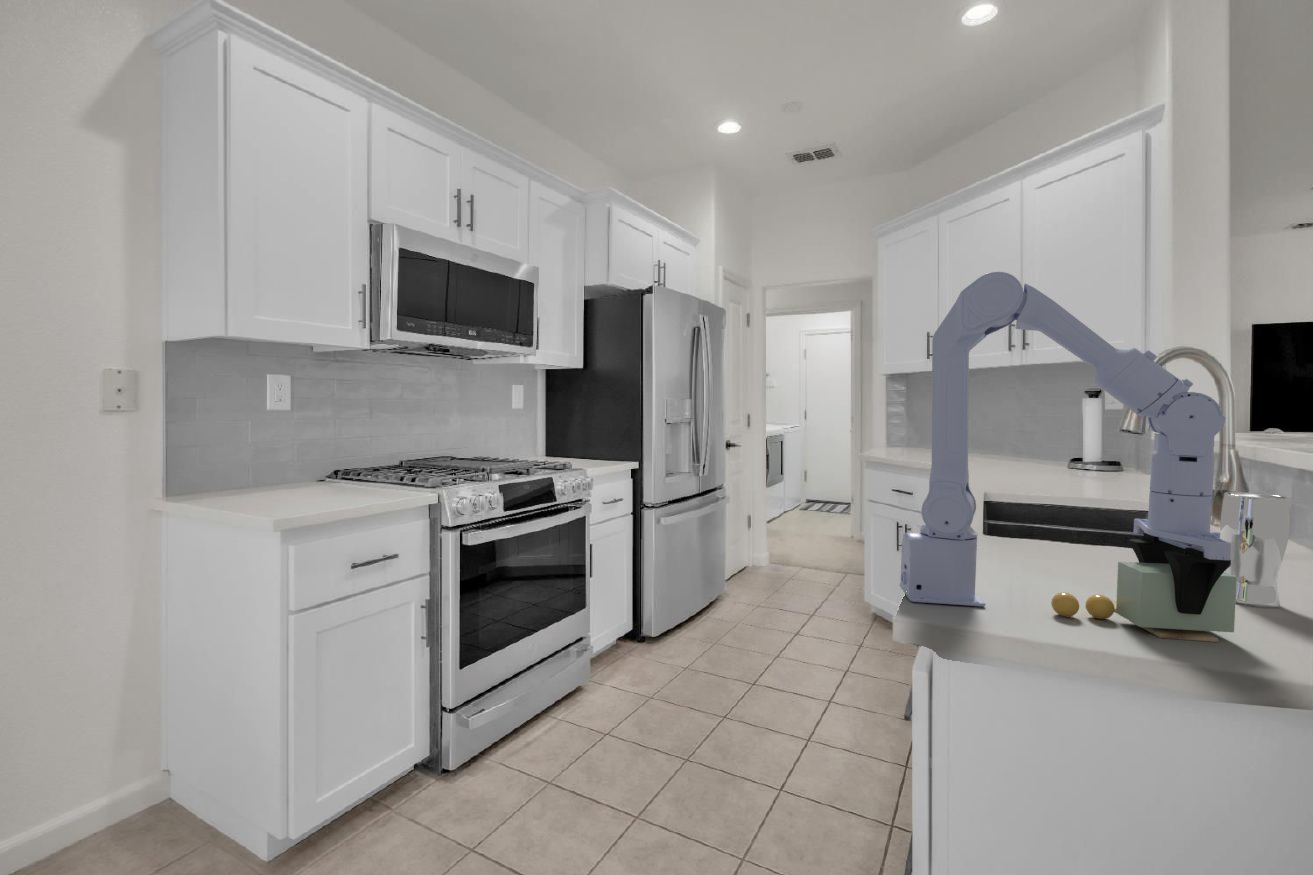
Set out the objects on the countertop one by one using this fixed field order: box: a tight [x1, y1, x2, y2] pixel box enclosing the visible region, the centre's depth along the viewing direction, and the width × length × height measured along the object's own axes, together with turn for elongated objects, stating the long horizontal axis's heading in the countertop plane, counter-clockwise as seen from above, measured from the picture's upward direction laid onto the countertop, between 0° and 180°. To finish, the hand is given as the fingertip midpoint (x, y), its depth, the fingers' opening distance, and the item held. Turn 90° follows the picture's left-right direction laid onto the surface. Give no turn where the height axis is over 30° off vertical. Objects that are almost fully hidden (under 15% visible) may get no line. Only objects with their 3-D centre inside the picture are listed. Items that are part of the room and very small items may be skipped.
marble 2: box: [1085, 594, 1115, 620], centre depth 79 cm, size 3×3×3 cm
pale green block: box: [1115, 561, 1237, 633], centre depth 75 cm, size 10×5×6 cm, turn 80°
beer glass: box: [1219, 491, 1291, 609], centre depth 87 cm, size 7×7×15 cm
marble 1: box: [1051, 591, 1080, 618], centre depth 80 cm, size 3×3×3 cm
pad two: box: [1141, 627, 1219, 643], centre depth 75 cm, size 6×6×1 cm
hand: (1173, 605), depth 75 cm, fingers closed on pale green block, 5 cm apart
